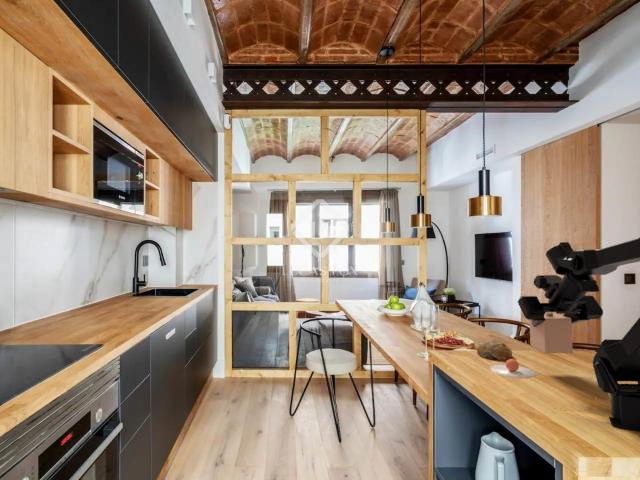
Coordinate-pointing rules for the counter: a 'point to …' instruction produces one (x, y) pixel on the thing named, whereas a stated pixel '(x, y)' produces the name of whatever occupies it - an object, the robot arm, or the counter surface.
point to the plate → (513, 372)
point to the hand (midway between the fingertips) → (546, 325)
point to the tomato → (512, 365)
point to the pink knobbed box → (552, 334)
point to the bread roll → (494, 350)
